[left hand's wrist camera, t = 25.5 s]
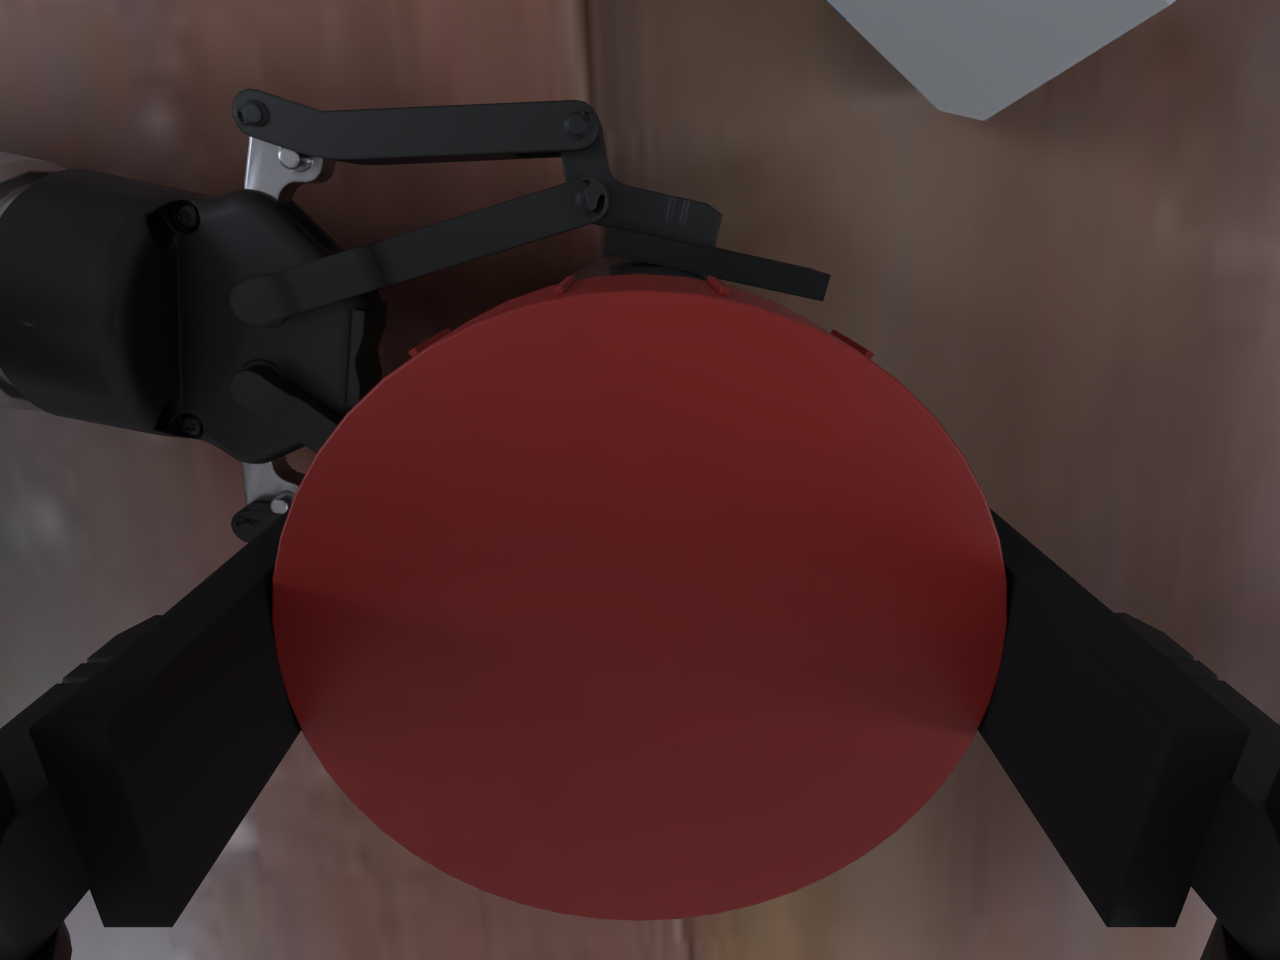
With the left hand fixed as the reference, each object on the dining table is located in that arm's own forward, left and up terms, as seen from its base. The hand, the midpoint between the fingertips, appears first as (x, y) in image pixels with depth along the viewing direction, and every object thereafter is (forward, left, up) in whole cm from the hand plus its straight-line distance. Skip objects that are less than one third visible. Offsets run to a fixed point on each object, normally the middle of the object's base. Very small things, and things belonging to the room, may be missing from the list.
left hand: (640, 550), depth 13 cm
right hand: (-4, 0, -10) cm, 11 cm away
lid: (0, 0, +3) cm, 3 cm away
